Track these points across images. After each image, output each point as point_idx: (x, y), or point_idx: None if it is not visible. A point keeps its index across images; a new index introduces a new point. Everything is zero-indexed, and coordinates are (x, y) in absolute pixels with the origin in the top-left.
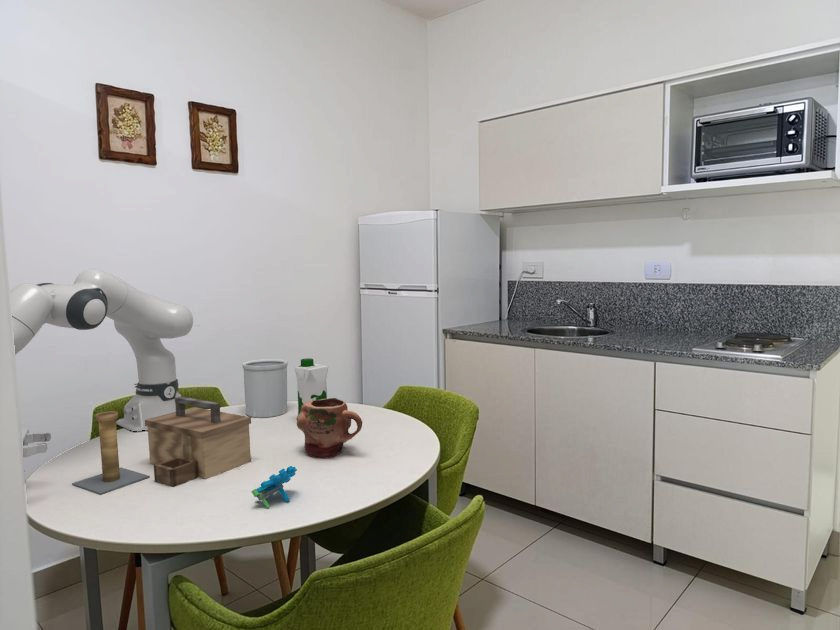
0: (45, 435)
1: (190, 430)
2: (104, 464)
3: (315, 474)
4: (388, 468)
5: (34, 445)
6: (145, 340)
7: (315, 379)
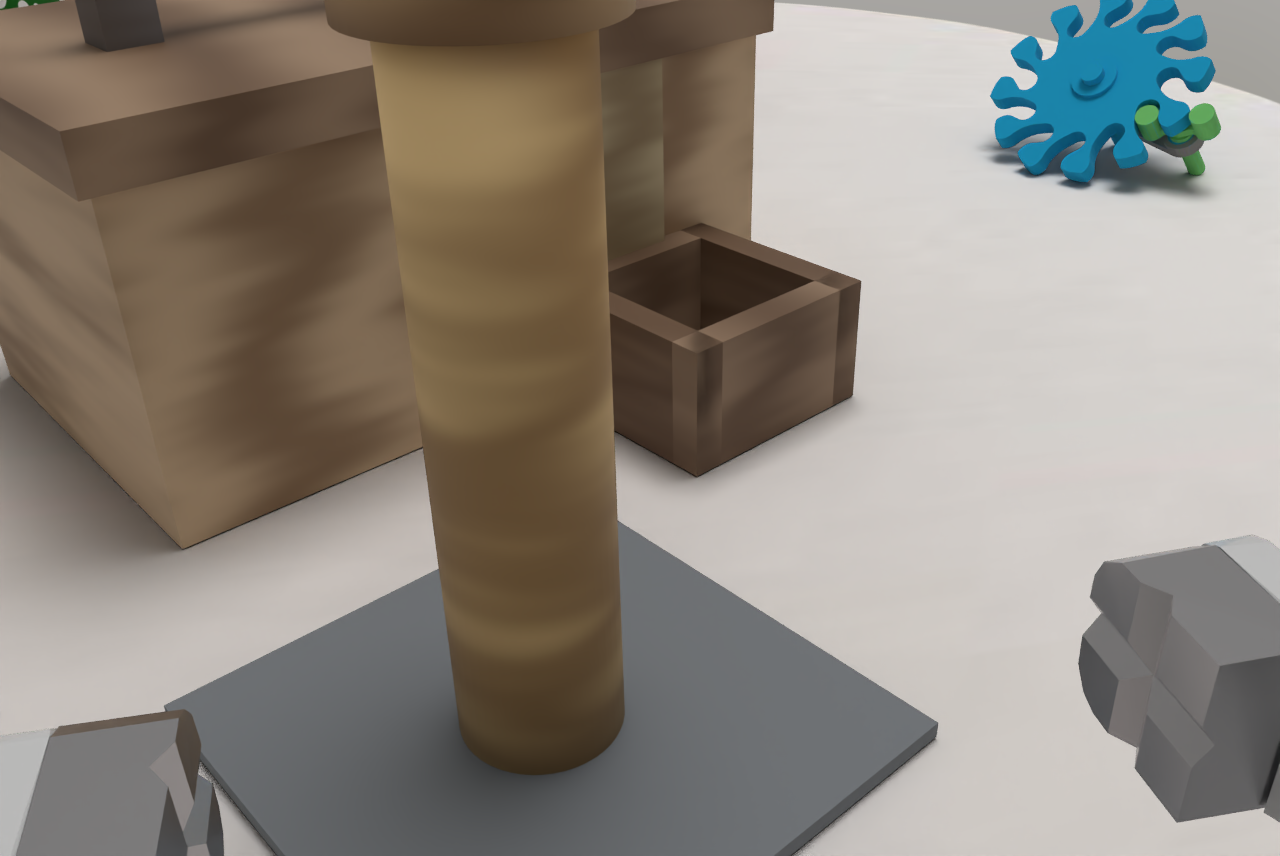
0: (168, 799)
1: (674, 7)
2: (604, 578)
3: (816, 111)
4: (812, 37)
5: None
6: None
7: None
